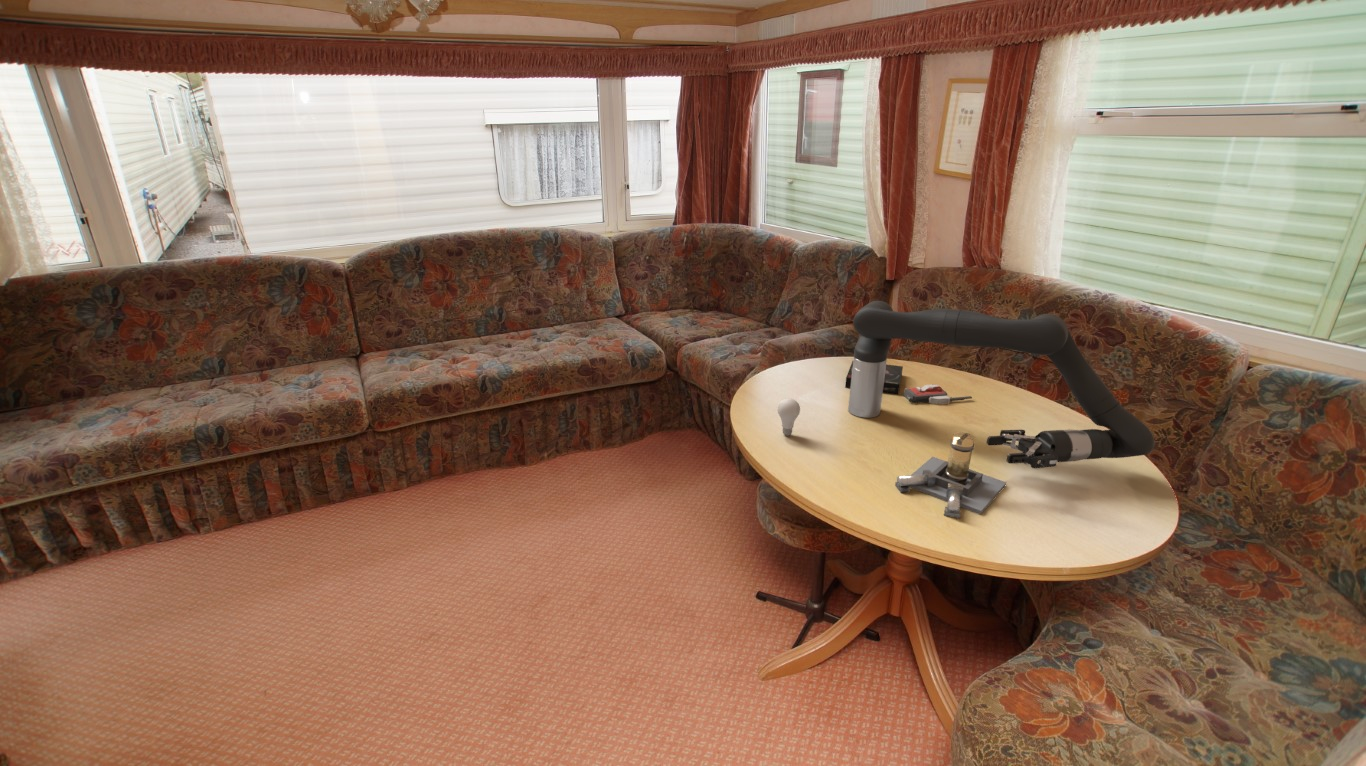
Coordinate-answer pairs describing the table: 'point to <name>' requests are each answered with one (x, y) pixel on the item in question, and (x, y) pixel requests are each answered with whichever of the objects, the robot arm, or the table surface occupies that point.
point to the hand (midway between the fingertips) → (997, 449)
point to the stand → (975, 490)
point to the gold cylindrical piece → (960, 457)
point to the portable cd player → (890, 379)
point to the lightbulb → (788, 414)
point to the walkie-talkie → (930, 395)
